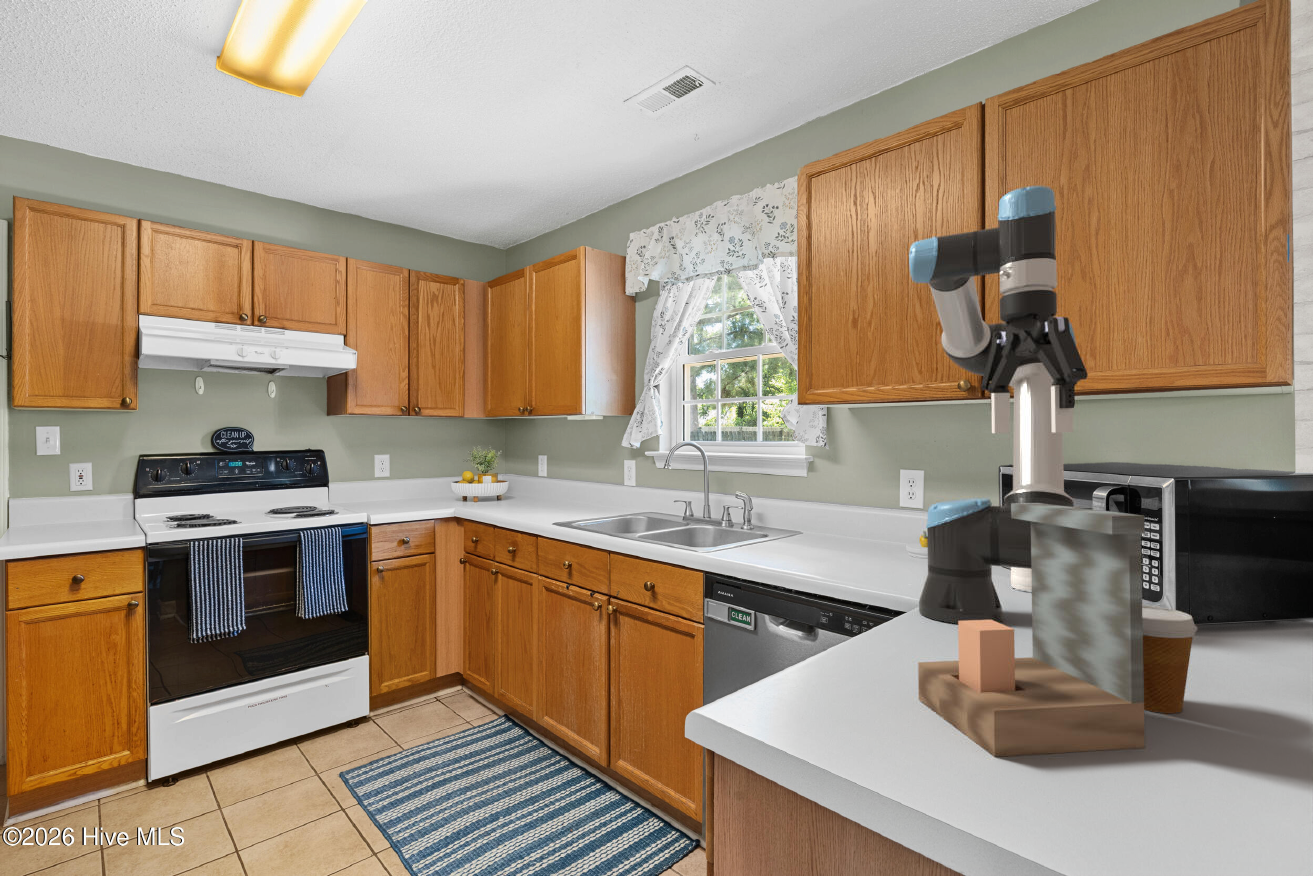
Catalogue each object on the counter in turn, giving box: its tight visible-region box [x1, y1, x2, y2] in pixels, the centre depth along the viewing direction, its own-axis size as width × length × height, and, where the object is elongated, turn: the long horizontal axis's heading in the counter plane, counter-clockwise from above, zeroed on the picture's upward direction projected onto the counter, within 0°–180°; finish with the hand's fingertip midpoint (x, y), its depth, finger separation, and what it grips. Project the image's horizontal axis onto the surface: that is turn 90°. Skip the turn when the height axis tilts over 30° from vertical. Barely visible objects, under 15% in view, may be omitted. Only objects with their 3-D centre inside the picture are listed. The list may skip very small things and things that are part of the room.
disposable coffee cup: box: [1142, 604, 1198, 714], centre depth 85 cm, size 10×10×12 cm
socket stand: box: [917, 503, 1146, 758], centre depth 79 cm, size 17×18×26 cm
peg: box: [957, 620, 1016, 693], centre depth 79 cm, size 4×4×12 cm
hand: (1029, 433), depth 98 cm, fingers open, 13 cm apart
